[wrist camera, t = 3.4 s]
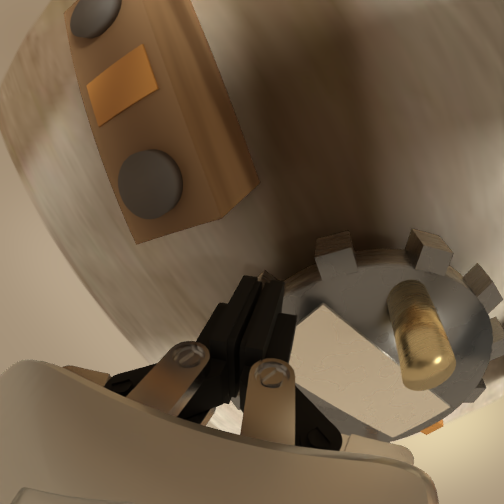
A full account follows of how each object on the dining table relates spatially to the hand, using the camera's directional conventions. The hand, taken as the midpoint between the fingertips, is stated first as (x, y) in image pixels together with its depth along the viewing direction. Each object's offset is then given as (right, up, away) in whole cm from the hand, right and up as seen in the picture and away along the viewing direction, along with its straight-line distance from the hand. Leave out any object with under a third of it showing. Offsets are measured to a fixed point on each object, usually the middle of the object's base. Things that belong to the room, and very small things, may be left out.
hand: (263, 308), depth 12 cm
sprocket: (+7, -5, +4) cm, 9 cm away
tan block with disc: (-4, +11, +2) cm, 12 cm away
